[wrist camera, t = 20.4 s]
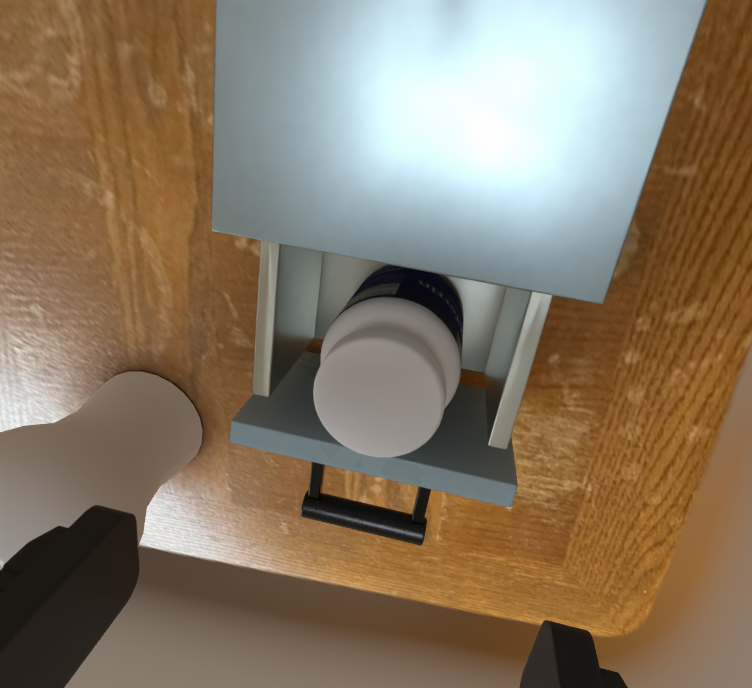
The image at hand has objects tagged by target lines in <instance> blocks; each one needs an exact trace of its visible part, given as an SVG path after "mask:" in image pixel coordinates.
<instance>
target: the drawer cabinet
mask: <svg viewBox="0 0 752 688" xmlns="http://www.w3.org/2000/svg"><path fill="white" fill-rule="evenodd" d="M707 2H708V0H216V14H215V70H214V126H213V183H212V231H214V232H219V233H224V234H230V235H235V236H240V237H246V238H251V239H256V240H261V241H267V242H272V243H277V244H283V245H288V246H293V247H299V248H304V249H309V250H314V251H320V252H325V253H330V254H336V255H341V256H346V257H352V258H357V259H362V260H367V261H373V262H378V263H383V264H389V265H394V266H399V267H404V268H410V269H415V270H420V271H426V272H431V273H436V274H442V275H447V276H452V277H457V278H463V279H468V280H473V281H479V282H484V283H489V284H495V285H500V286H505V287H510V288H516V289H521V290H526V291H532V292H537V293H542V294H547V295H553V296H558V297H563V298H569V299H574V300H579V301H585V302H590V303H595V304H600V305H601V304H604V302H605V299H606V296H607V293H608V290H609V287H610V284H611V282H612V279H613V276H614V273H615V270H616V267H617V264H618V261H619V258H620V255H621V252H622V250H623V247H624V244H625V241H626V238H627V235H628V232H629V229H630V226H631V223H632V220H633V218H634V215H635V212H636V209H637V206H638V203H639V200H640V197H641V194H642V191H643V188H644V186H645V183H646V180H647V177H648V174H649V171H650V168H651V165H652V162H653V159H654V156H655V154H656V151H657V148H658V145H659V142H660V139H661V136H662V133H663V130H664V127H665V124H666V122H667V119H668V116H669V113H670V110H671V107H672V104H673V101H674V98H675V95H676V92H677V90H678V87H679V84H680V81H681V78H682V75H683V72H684V69H685V66H686V63H687V60H688V58H689V55H690V52H691V49H692V46H693V43H694V40H695V37H696V34H697V31H698V28H699V25H700V23H701V20H702V17H703V14H704V11H705V8H706V5H707Z"/></svg>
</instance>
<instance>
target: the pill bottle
mask: <svg viewBox="0 0 752 688" xmlns="http://www.w3.org/2000/svg"><path fill="white" fill-rule="evenodd" d="M462 341H463V307H462V302H461V299H460V296H459V294H458V292H457V290H456V288H455V287H454V285H453V284H452V283H451V281H450V280H449V279H448V278H447V277H446V276H445V275H442V274H436V273H431V272H426V271H420V270H415V269H410V268H404V267H399V266H394V265H389V264H388V265H385V266H383V267H381V268H379V269H378V270H376V271H375V272H373V273H372V274H371V275H370V276H369V277H367V278H366V279H365V281H364V282H363V283H362V284H361V285H360V287H359V288H358V289H357V291H356V292H355V293H354V295H353V296H352V297H351V299H350V300H349V301H348V303H347V304H346V305H345V307H344V308H343V309H342V311H341V312H340V313H339V315H338V316H337V317H336V319H335V320H334V321H333V323H332V325H331V326H330V328H329V330H328V332H327V334H326V336H325V338H324V341H323V344H322V349H321V357H320V364H321V365H320V367H319V369H318V372H317V374H316V377H315V381H314V388H313V396H314V404H315V408H316V412H317V414H318V417H319V418H320V420H321V422H322V424H323V426H324V427H325V428H326V430H327V431H328V432H329V433H330V434H331V435H332V436H333V437H334V438H335V439H336V440H337V441H338V442H340V443H341V444H343V445H344V446H346V447H347V448H349V449H351V450H353V451H355V452H357V453H360V454H364V455H367V456H372V457H395V456H400V455H405V454H407V453H410V452H412V451H414V450H416V449H418V448H419V447H421V446H422V445H423V444H425V443H426V442H427V441H428V440H429V439H430V438H431V437H432V436H433V435H434V433H435V432H436V430H437V428H438V427H439V425H440V422H441V420H442V417H443V413H444V409H445V408H446V407H447V405H448V404H449V403H450V401H451V400H452V398H453V396H454V394H455V392H456V390H457V387H458V384H459V380H460V374H461V364H462Z"/></svg>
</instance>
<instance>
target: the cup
mask: <svg viewBox="0 0 752 688" xmlns="http://www.w3.org/2000/svg"><path fill="white" fill-rule="evenodd" d="M202 432H203V430H202V426H201V421H200V417H199V415H198V413H197V411H196V409H195V407H194V405H193V404H192V403H191V401H190V400H189V399H188V398H187V396H186V395H185V394H184V393H183V392H182V391H181V390H180V389H178V388H177V387H176V386H175V385H173V384H172V383H171V382H169V381H167V380H165V379H163V378H161V377H159V376H157V375H154V374H150V373H146V372H131V371H128V372H125V373H121V374H118V375H115V376H114V377H113V378H111V379H110V380H108V381H107V382H106V383H105V384H103V385H102V386H101V387H100V388H99V389H98V390H97V391H96V392H95V393H94V394H93V395H92V396H91V397H90V398H89V399H88V401H87V402H86V403H85V404H84V405H83V406H82V407H81V408H80V409H79V410H78V411H77V412H75V413H73V414H71V415H69V416H67V417H65V418H63V419H61V420H59V421H57V422H55V423H49V424H39V425H29V426H22V427H18V428H15V429H11V430H7V431H4V432H1V433H0V570H1V569H2V568H3V565H4V564H5V563H6V562H7V561H8V560H9V559H10V558H12V557H13V556H14V555H15V554H16V553H17V552H18V551H19V550H20V549H21V548H22V547H24V546H25V545H26V544H27V543H28V542H30V541H31V540H33V539H35V538H37V537H39V536H41V535H42V534H44V533H46V532H48V531H50V530H52V529H53V528H55V527H57V526H63V527H66V528H69V527H70V526H71V525H72V524H73V523H74V522H75V521H76V520H77V519H78V518H79V517H80V516H81V515H82V514H83V513H84V512H85V511H86V510H88V509H89V508H90V507H92V506H95V505H100V506H104V507H108V508H112V509H116V510H120V511H123V512H127V513H131V514H133V515H134V516H135V517H136V521H137V538H138V546H139V543H140V540H141V537H142V535H143V530H144V523H145V516H146V509H147V506H148V505H149V503H150V501H151V500H152V498H153V497H154V495H155V493H156V492H157V490H158V489H159V487H160V486H161V485H162V484H164V483H165V482H166V481H168V480H169V479H170V478H172V477H173V476H174V475H176V474H177V473H178V472H179V471H181V470H182V469H183V468H184V467H185V466H186V465H187V464H188V463H190V462H191V460H192V459H193V458H194V457H195V456H196V455H197V454H198V451H199V449H200V446H201V444H202Z"/></svg>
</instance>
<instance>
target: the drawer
mask: <svg viewBox="0 0 752 688" xmlns="http://www.w3.org/2000/svg"><path fill="white" fill-rule="evenodd" d="M385 265H388V264H383V263H378V262H373V261H367V260H362V259H357V258H352V257H346V256H341V255H336V254H330V253H325V252H320V251H314V250H309V249H304V248H299V247H293V246H288V245H283V244H277V243H272V242H267V241H261V246H260V264H259V281H258V299H257V317H256V334H255V352H254V370H253V387H252V393H253V395H252V396H251V398H250V399H249V400H248V401H247V402H246V404H245V405H244V406H243V407H242V409H241V410H240V411H239V412H238V413H237V415H236V416H235V417H234V418H233V419H232V421H231V435H230V443H233V444H237V445H241V446H246V447H250V448H254V449H259V450H263V451H267V452H272V453H276V454H280V455H285V456H289V457H294V458H298V459H302V460H307V461H311V462H312V467H311V476H310V484H309V490H308V491H307V492H306V494H305V497H304V500H303V503H302V508H301V516H302V517H305V518H309V519H313V520H317V521H321V522H326V523H330V524H334V525H338V526H342V527H346V528H350V529H355V530H359V531H363V532H367V533H371V534H375V535H379V536H383V537H388V538H392V539H396V540H400V541H404V542H408V543H412V544H417V545H422V544H423V541H424V536H425V531H426V525H427V518H425V512H426V508H427V504H428V500H429V496H430V491H431V489H432V490H437V491H441V492H445V493H450V494H454V495H458V496H463V497H467V498H471V499H476V500H480V501H484V502H489V503H493V504H497V505H502V506H506V507H511V506H512V503H513V500H514V497H515V494H516V490H517V487H518V484H517V476H516V469H515V461H514V453H513V446H512V438H511V435H512V431H513V428H514V425H515V421H516V418H517V415H518V411H519V408H520V405H521V401H522V398H523V395H524V391H525V388H526V385H527V381H528V378H529V375H530V371H531V368H532V365H533V361H534V358H535V355H536V351H537V348H538V345H539V341H540V338H541V335H542V331H543V328H544V325H545V321H546V318H547V315H548V311H549V308H550V305H551V301H552V298H553V295H547V294H542V293H537V292H532V291H526V290H521V289H516V288H510V287H505V286H500V285H495V284H489V283H484V282H479V281H473V280H468V279H463V278H457V277H452V276H447V275H445V276H446V277H447V278H448V279H449V280H450V281H451V283H452V284H453V285H454V287H455V288H456V290H457V292H458V294H459V296H460V299H461V302H462V307H463V341H462V364H461V368H462V369H467V370H472V371H477V372H482V373H484V378H485V388H480V387H475V386H470V385H465V384H461V383H459V384H458V387H457V390H456V392H455V394H454V396H453V398H452V400H451V401H450V403H449V404H448V405H447V407H446V408H445V409H444V413H443V417H442V420H441V422H440V425H439V427H438V428H437V430H436V432H435V433H434V435H433V436H432V437H431V438H430V439H429V440H428V441H427V442H426V443H425V444H423V445H422V446H421V447H419V448H418V449H416V450H414V451H412V452H410V453H407V454H405V455H400V456H395V457H372V456H367V455H364V454H360V453H357V452H355V451H353V450H351V449H349V448H347V447H346V446H344V445H343V444H341V443H340V442H338V441H337V440H336V439H335V438H334V437H333V436H332V435H331V434H330V433H329V432H328V431H327V430H326V428H325V427H324V426H323V424H322V422H321V420H320V418H319V417H318V414H317V412H316V408H315V404H314V396H313V388H314V381H315V377H316V374H317V372H318V369H319V367H320V365H321V364H320V357H321V354H317V353H312V352H308V351H304V350H305V349H306V348H307V347H308V345H309V344H310V343H311V341H312V340H313V339H314V338H317V339H321V340H324V338H325V336H326V334H327V332H328V330H329V328H330V326H331V325H332V323H333V321H334V320H335V319H336V317H337V316H338V315H339V313H340V312H341V311H342V309H343V308H344V307H345V305H346V304H347V303H348V301H349V300H350V299H351V297H352V296H353V295H354V293H355V292H356V291H357V289H358V288H359V287H360V285H361V284H362V283H363V282H364V281H365V279H366V278H367V277H369V276H370V275H371V274H372V273H373V272H375V271H376V270H378V269H379V268H381V267H383V266H385ZM325 465H328V466H333V467H337V468H341V469H346V470H350V471H354V472H359V473H363V474H367V475H372V476H376V477H380V478H385V479H389V480H393V481H398V482H402V483H406V484H411V485H415V486H419V487H418V492H417V496H416V500H415V505H414V509H413V514H408V513H404V512H400V511H396V510H392V509H387V508H383V507H379V506H375V505H370V504H366V503H362V502H358V501H353V500H349V499H345V498H341V497H336V496H332V495H328V494H324V493H322V485H323V478H324V470H325Z"/></svg>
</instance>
